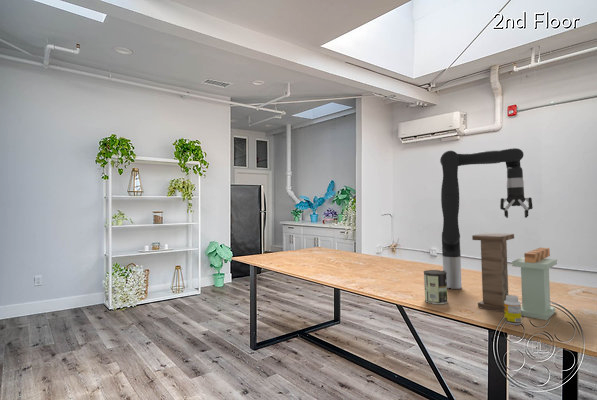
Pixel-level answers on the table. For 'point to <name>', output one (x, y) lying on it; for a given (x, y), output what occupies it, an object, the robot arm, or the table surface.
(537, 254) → the block
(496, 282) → the tall stand
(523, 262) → the low stand
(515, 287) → the table surface
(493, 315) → the table surface
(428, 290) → the coffee can
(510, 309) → the supplement bottle
